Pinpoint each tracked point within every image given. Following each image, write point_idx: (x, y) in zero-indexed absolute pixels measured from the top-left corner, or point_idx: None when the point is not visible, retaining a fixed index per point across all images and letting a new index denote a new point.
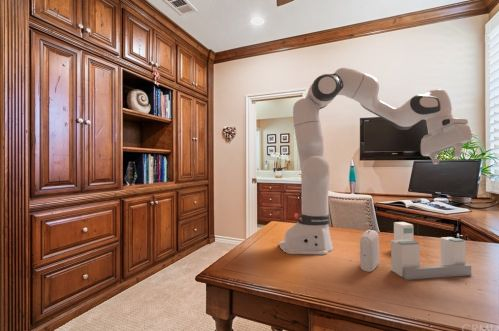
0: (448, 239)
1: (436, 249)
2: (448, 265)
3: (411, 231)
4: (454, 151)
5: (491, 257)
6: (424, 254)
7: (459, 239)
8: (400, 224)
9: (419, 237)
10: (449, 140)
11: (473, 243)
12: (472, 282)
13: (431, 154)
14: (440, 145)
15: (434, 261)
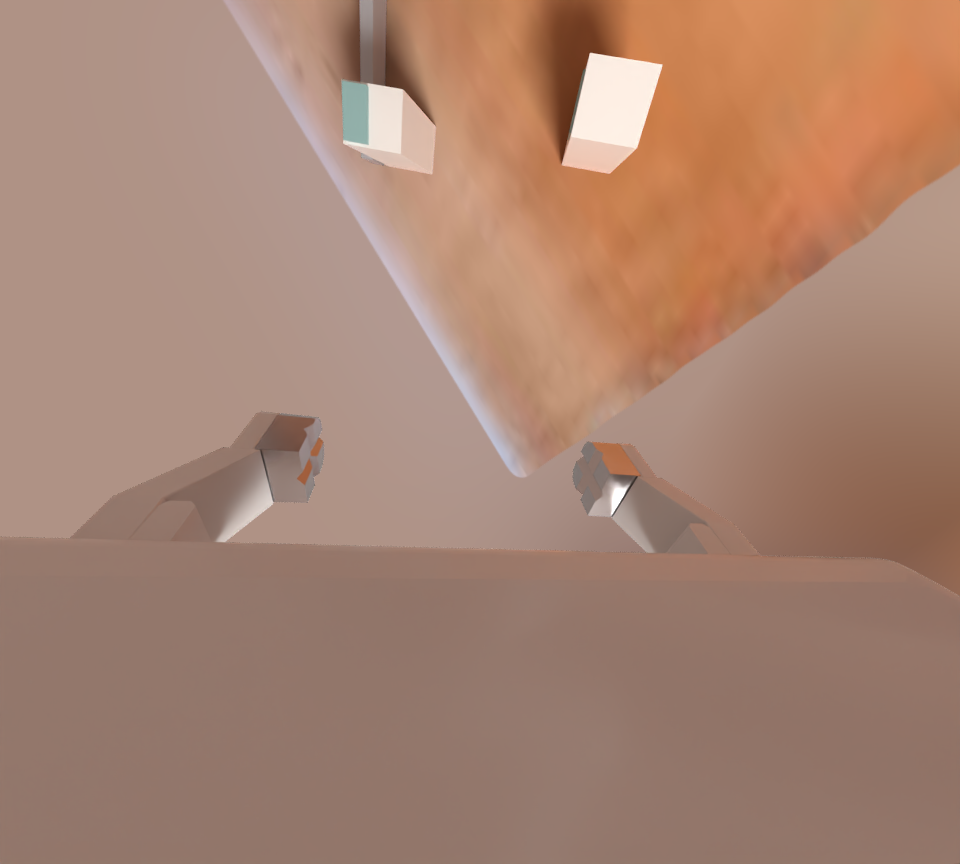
0: (374, 95)
1: (549, 287)
2: (370, 66)
3: (569, 130)
4: (249, 455)
5: (452, 366)
6: (533, 191)
7: (352, 127)
8: (608, 58)
9: (658, 361)
10: (76, 670)
11: (539, 443)
12: (335, 105)
13: (704, 540)
14: (470, 614)
15: (476, 157)
